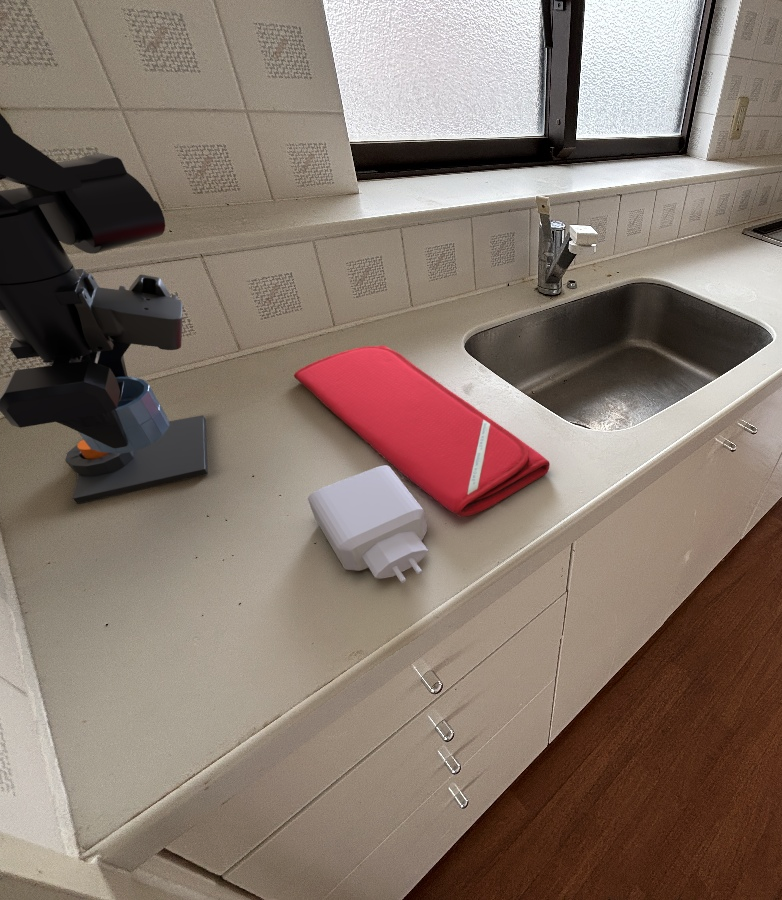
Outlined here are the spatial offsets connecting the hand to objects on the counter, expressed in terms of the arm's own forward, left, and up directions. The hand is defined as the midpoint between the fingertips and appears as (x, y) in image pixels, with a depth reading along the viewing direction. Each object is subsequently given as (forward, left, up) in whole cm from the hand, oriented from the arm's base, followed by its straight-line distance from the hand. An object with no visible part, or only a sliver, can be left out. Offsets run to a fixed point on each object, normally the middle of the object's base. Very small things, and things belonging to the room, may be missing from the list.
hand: (124, 426), depth 49 cm
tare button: (-7, +10, -9) cm, 15 cm away
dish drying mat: (+28, +5, -12) cm, 31 cm away
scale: (-3, +10, -12) cm, 16 cm away
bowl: (0, 0, -1) cm, 1 cm away
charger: (+19, -16, -12) cm, 27 cm away
